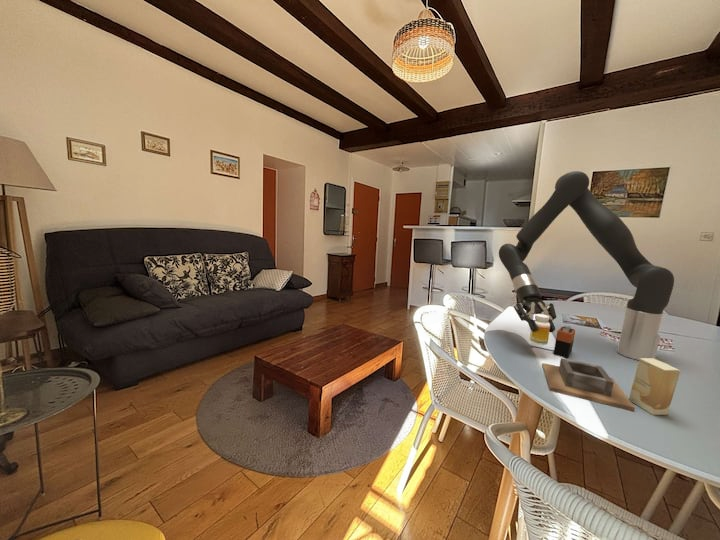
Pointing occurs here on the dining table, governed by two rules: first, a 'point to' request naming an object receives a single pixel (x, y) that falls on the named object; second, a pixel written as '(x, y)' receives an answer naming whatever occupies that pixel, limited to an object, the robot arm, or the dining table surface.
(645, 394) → the skincare box
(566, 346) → the battery
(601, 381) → the walnut holder board
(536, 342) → the supplement bottle
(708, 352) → the dining table surface
